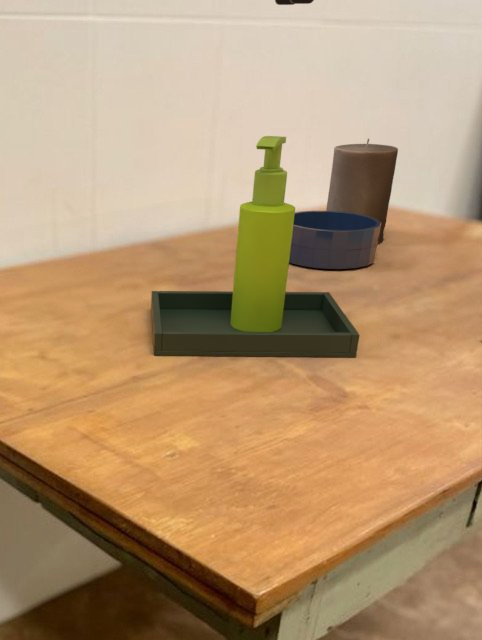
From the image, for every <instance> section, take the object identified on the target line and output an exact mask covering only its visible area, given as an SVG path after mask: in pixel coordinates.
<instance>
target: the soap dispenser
mask: <svg viewBox="0 0 482 640" xmlns="http://www.w3.org/2000/svg"><path fill="white" fill-rule="evenodd" d="M286 142H287V136H279V135H265V136H262V137H261V138H260V139H259V140H258V141H257V143H256V145H255V147H256V150H264V157H263V158H264V159H263V166H261V167H259V169H255V171H254V177H253V189H252V200H251V201H247V202H244V203H242V204H240V205H239V215H238V225H237V239H236V240H237V241H236V249H235V251H236V252H235V262H234V272H233V273H234V275H233V288H232V292H233V298H232V310H231V322H230V324H231V326H232V327H233V328H235V329H237V330H240V331H244V332H274V331H277V330H279V329H280V328H281V326H282V317H283V309H284V300H285V292H287V291H286V290H287V283H288V282H287V281H288V273H289V266H290V263H289V258H290V249H291V241H292V232H293V224H294V215H295V212H296V207H295V206H294V205H293V204H291V203H287V202H285V196H286V190H287V189H286V188H287V178H288V172H287V170H285V169H284V168H283V167H281V161H282V160H281V159H282V150H283V144H286Z"/></svg>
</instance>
